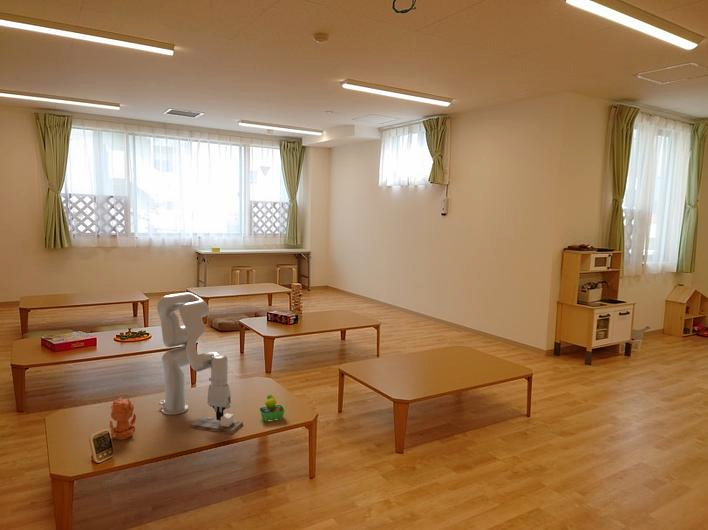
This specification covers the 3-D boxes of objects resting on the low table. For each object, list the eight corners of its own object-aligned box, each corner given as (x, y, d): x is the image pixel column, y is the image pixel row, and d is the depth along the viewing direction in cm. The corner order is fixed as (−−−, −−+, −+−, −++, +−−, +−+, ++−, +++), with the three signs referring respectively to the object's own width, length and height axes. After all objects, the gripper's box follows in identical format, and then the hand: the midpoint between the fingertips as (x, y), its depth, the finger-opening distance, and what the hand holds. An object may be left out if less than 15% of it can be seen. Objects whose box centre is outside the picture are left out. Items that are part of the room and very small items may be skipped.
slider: (220, 425, 221) (220, 417, 220) (226, 421, 226) (226, 413, 225) (228, 426, 220) (228, 418, 219) (233, 422, 224) (233, 414, 224)
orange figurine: (129, 428, 220) (128, 391, 218) (140, 435, 213) (139, 397, 211) (104, 437, 211) (103, 398, 209) (115, 444, 204) (114, 404, 202)
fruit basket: (262, 423, 228) (262, 401, 227) (258, 416, 236) (258, 394, 235) (285, 420, 232) (285, 398, 231) (281, 413, 240) (281, 391, 239)
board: (190, 427, 222) (190, 423, 222) (202, 418, 232) (202, 415, 232) (232, 433, 217) (232, 430, 216) (242, 424, 226) (242, 421, 226)
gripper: (200, 382, 220) (201, 420, 222) (229, 385, 216) (229, 424, 218) (209, 377, 227) (210, 414, 229) (237, 380, 223) (238, 418, 225)
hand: (219, 419), depth 223 cm, fingers closed
